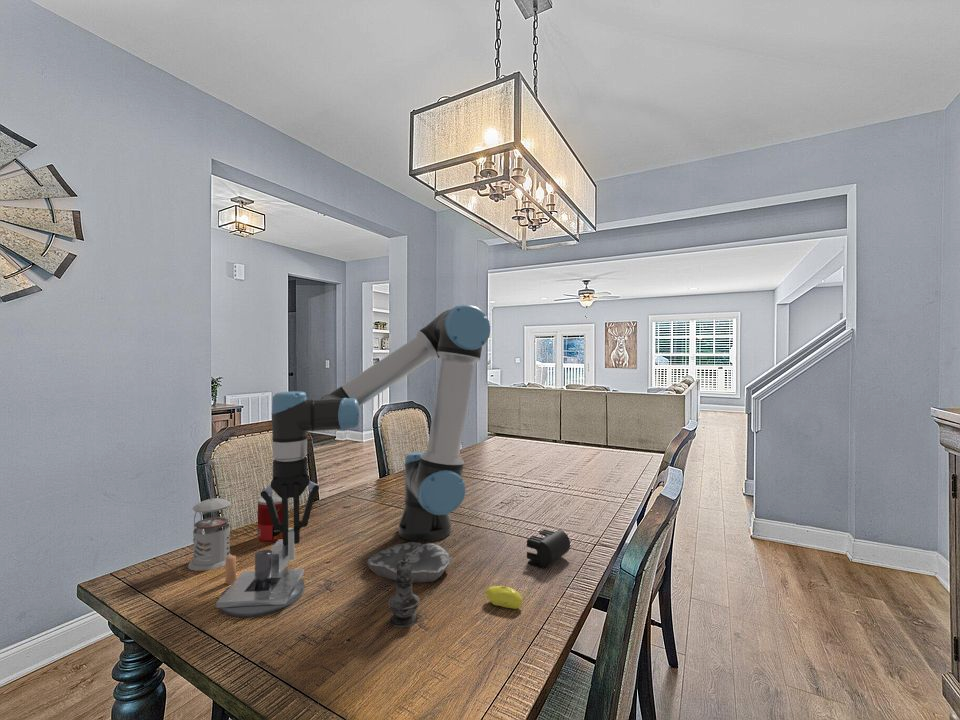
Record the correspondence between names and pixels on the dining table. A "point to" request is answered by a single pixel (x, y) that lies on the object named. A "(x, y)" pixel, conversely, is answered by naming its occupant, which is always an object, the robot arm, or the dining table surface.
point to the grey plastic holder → (279, 595)
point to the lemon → (504, 597)
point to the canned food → (269, 521)
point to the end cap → (547, 548)
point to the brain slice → (411, 561)
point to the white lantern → (210, 534)
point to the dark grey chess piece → (404, 597)
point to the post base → (263, 607)
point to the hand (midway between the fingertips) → (291, 557)
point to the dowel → (230, 569)
